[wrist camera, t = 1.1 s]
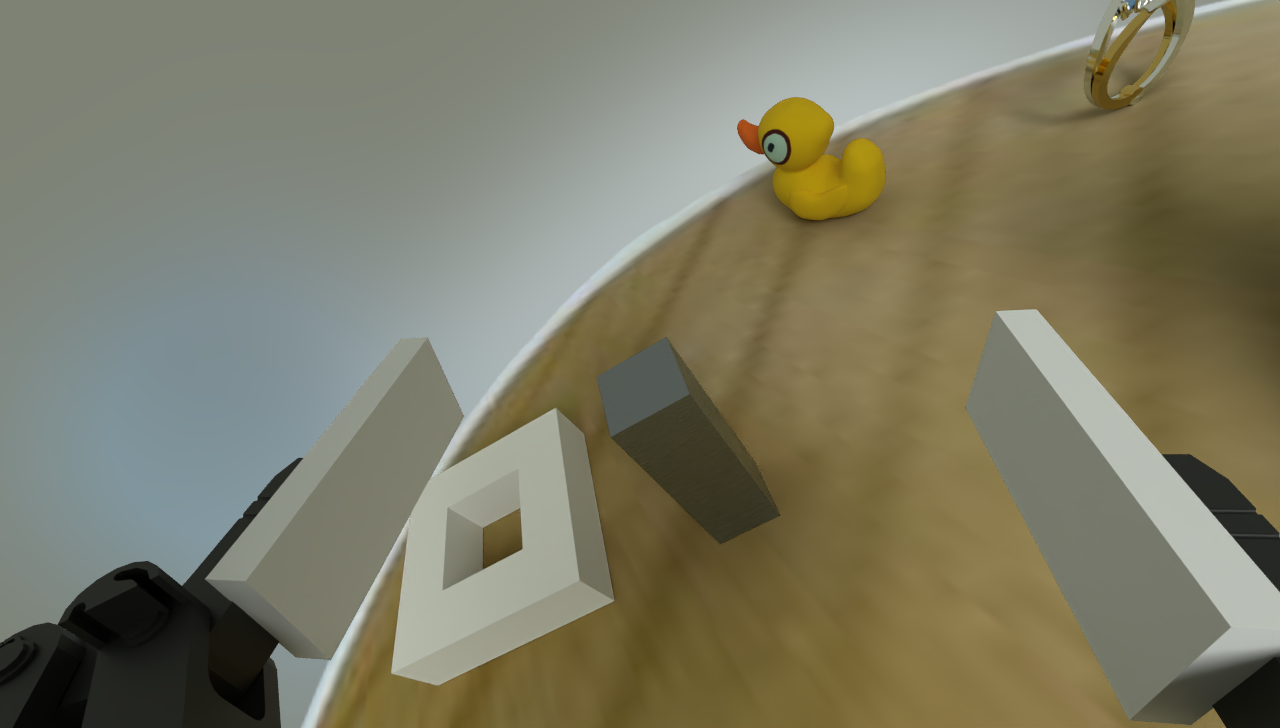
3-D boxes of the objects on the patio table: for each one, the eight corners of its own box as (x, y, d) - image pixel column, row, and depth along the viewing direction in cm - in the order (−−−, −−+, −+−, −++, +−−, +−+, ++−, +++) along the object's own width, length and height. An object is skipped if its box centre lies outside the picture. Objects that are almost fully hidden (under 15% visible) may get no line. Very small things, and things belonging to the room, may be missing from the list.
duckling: (754, 226, 49) (713, 131, 42) (784, 187, 50) (749, 89, 44) (873, 238, 41) (845, 123, 34) (905, 191, 42) (884, 71, 36)
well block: (583, 433, 43) (555, 407, 41) (614, 601, 33) (579, 580, 30) (448, 508, 46) (413, 488, 43) (437, 685, 36) (391, 673, 33)
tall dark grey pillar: (754, 462, 34) (666, 336, 26) (780, 515, 31) (689, 393, 23) (700, 489, 35) (596, 376, 26) (720, 544, 32) (610, 437, 23)
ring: (1105, 137, 36) (1119, 18, 31) (1063, 125, 39) (1070, 13, 33) (1201, 76, 35) (1233, -57, 30) (1153, 67, 38) (1174, -58, 33)
